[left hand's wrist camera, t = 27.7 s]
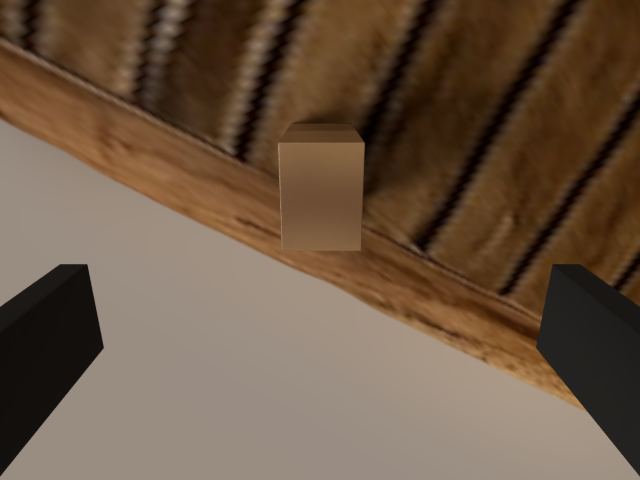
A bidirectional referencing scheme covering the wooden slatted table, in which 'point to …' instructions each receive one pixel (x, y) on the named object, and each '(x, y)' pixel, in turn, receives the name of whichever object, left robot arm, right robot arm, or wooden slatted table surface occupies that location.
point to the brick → (321, 187)
